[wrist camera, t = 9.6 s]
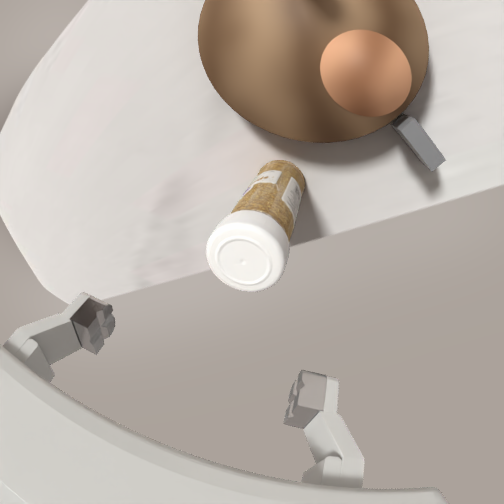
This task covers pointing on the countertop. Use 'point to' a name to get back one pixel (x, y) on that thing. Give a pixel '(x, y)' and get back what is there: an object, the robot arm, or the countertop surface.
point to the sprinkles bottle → (258, 230)
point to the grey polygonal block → (418, 141)
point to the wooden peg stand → (315, 63)
